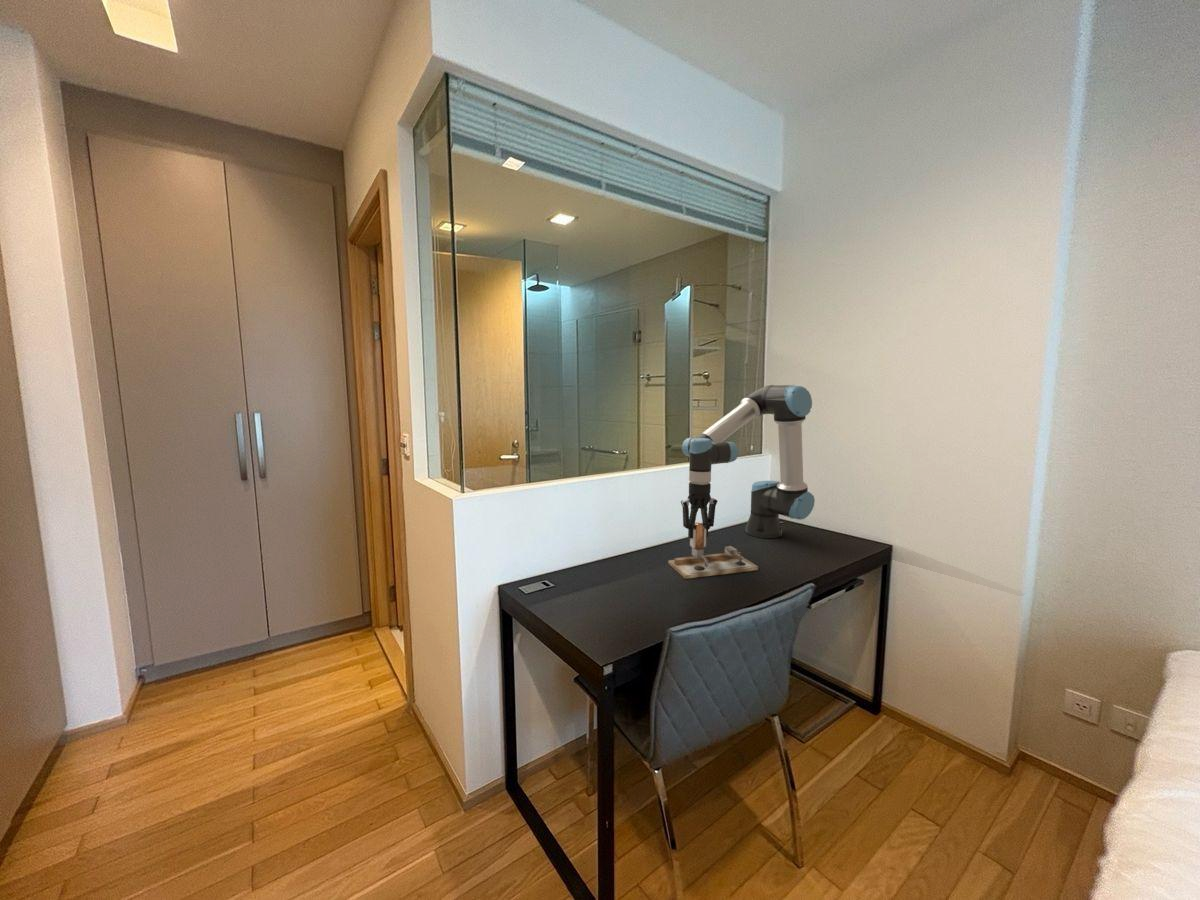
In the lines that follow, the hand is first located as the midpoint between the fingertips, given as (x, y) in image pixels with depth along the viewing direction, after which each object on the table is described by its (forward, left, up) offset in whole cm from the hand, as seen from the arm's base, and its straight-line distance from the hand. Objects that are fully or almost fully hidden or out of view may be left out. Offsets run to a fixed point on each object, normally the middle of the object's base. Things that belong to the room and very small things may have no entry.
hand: (697, 546), depth 171 cm
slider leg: (0, +3, -5) cm, 6 cm away
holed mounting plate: (-4, +3, -7) cm, 9 cm away
